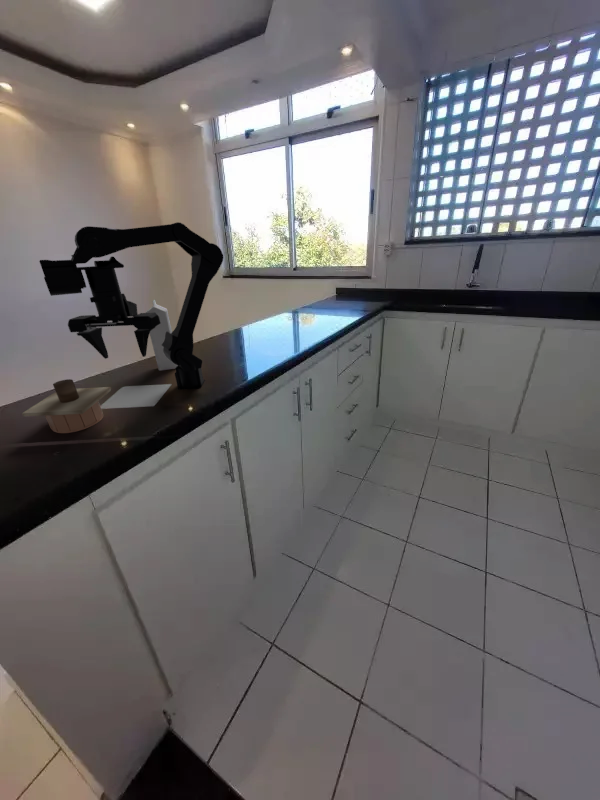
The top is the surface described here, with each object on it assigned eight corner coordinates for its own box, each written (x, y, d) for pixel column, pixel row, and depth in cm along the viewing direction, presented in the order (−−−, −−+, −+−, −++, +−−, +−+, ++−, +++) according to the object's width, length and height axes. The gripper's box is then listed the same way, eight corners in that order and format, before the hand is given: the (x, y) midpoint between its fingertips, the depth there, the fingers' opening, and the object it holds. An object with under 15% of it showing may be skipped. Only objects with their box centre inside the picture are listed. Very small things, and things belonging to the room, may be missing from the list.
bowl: (112, 412, 76) (105, 391, 74) (89, 433, 67) (80, 411, 65) (70, 414, 76) (62, 394, 74) (42, 436, 67) (31, 414, 65)
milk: (159, 372, 101) (141, 302, 91) (161, 366, 106) (144, 299, 96) (178, 369, 102) (163, 300, 93) (179, 364, 108) (164, 298, 98)
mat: (172, 385, 90) (171, 384, 90) (154, 408, 77) (153, 406, 77) (123, 388, 90) (123, 386, 89) (97, 411, 77) (96, 409, 77)
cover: (111, 389, 75) (105, 371, 73) (82, 413, 64) (74, 392, 62) (60, 392, 74) (53, 373, 72) (23, 416, 64) (13, 395, 62)
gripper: (160, 285, 77) (174, 346, 84) (84, 288, 77) (104, 349, 83) (142, 290, 67) (159, 359, 74) (54, 294, 67) (79, 363, 73)
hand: (125, 357), depth 76 cm, fingers open, 9 cm apart
